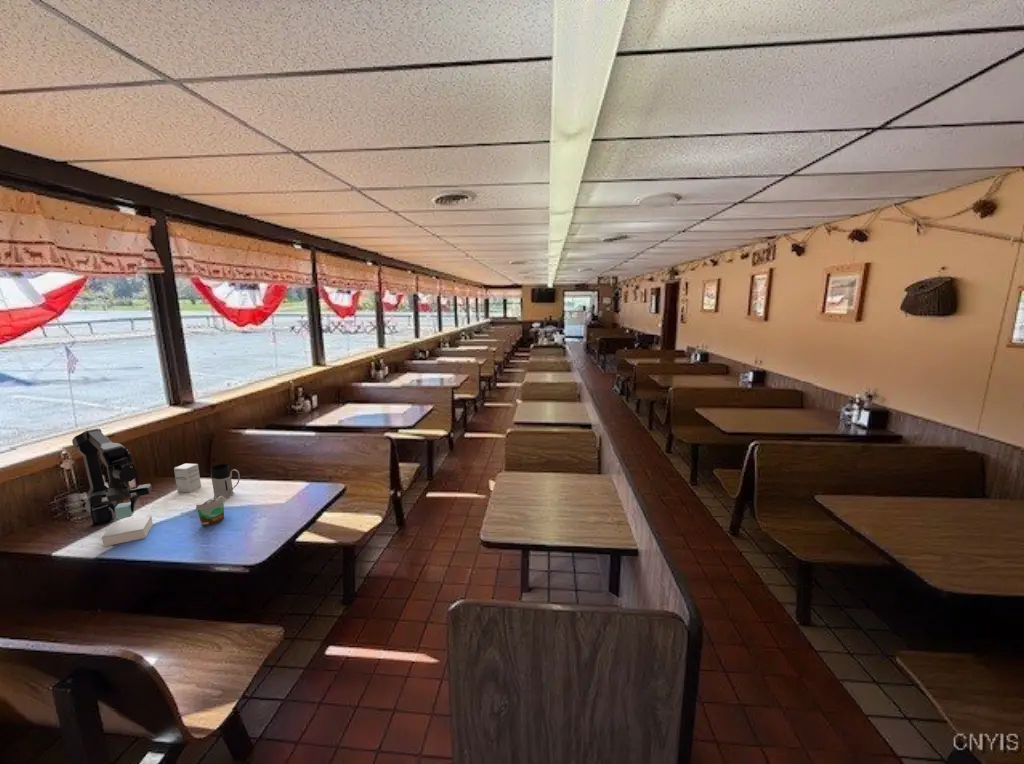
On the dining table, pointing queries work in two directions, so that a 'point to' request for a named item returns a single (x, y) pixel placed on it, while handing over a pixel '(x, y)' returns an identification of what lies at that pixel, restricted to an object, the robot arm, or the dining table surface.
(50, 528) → the dining table surface
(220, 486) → the grey black mug
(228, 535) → the dining table surface
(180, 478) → the supplement box
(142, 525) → the flat beige block
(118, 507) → the teal block
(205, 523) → the food container
